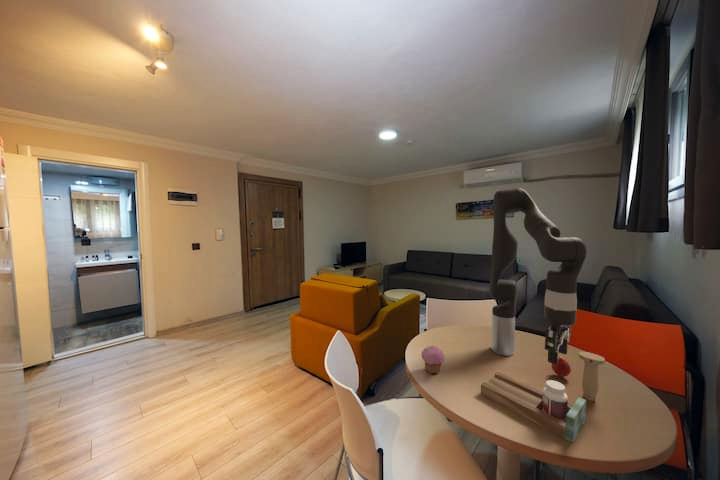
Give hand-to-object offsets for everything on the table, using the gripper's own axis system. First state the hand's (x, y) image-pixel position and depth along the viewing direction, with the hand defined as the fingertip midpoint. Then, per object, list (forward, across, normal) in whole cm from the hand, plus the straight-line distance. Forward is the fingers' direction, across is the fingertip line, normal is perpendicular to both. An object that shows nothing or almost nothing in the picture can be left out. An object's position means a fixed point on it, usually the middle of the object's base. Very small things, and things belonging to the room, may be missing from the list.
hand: (557, 357), depth 79 cm
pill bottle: (+20, 0, 0) cm, 20 cm away
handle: (+20, -20, +4) cm, 28 cm away
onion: (+20, -27, -6) cm, 34 cm away
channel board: (+20, 0, -7) cm, 21 cm away
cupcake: (+20, +8, -39) cm, 45 cm away
